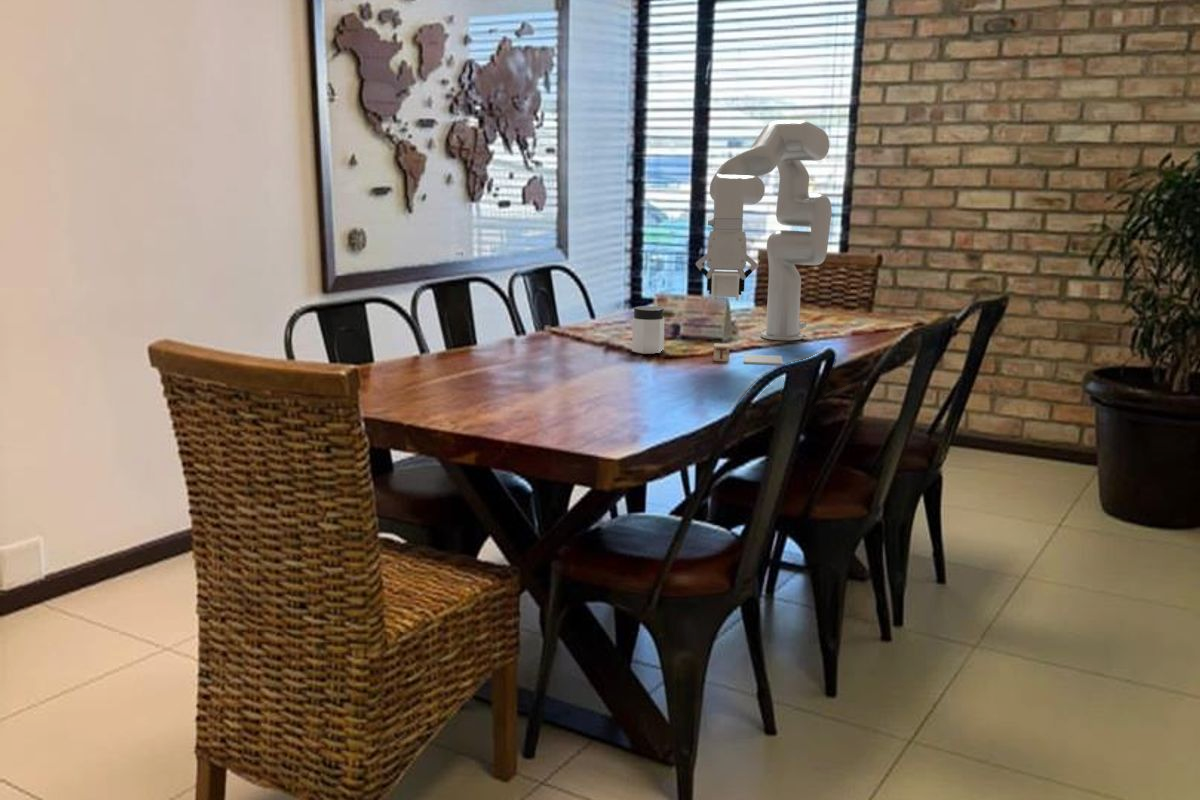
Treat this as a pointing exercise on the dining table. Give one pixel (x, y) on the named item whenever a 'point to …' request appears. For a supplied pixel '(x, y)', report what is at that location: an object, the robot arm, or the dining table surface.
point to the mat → (763, 359)
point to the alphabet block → (725, 284)
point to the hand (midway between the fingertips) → (725, 293)
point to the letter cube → (721, 352)
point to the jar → (648, 330)
